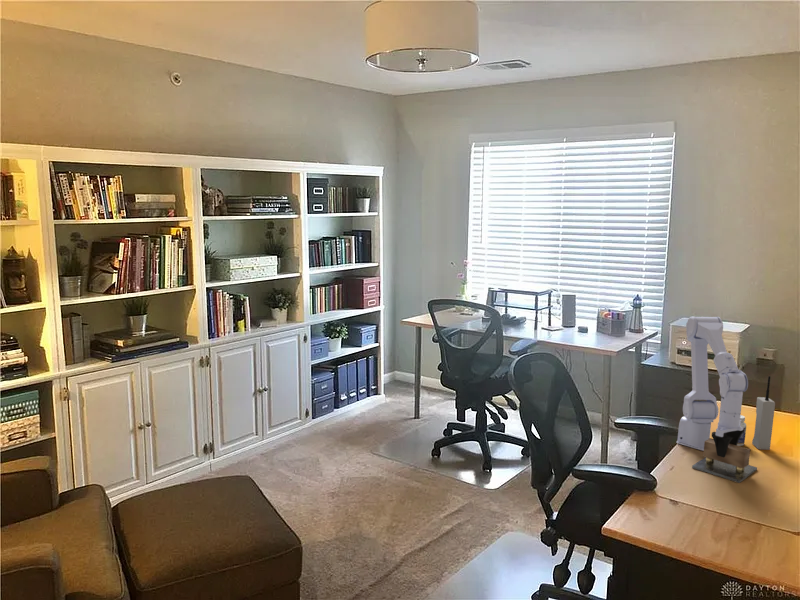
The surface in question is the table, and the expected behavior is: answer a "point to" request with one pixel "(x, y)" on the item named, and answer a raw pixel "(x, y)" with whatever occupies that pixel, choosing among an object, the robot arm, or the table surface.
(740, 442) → the pill bottle
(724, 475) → the plate
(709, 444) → the walnut bar
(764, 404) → the vintage mobile phone
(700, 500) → the table surface
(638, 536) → the table surface
